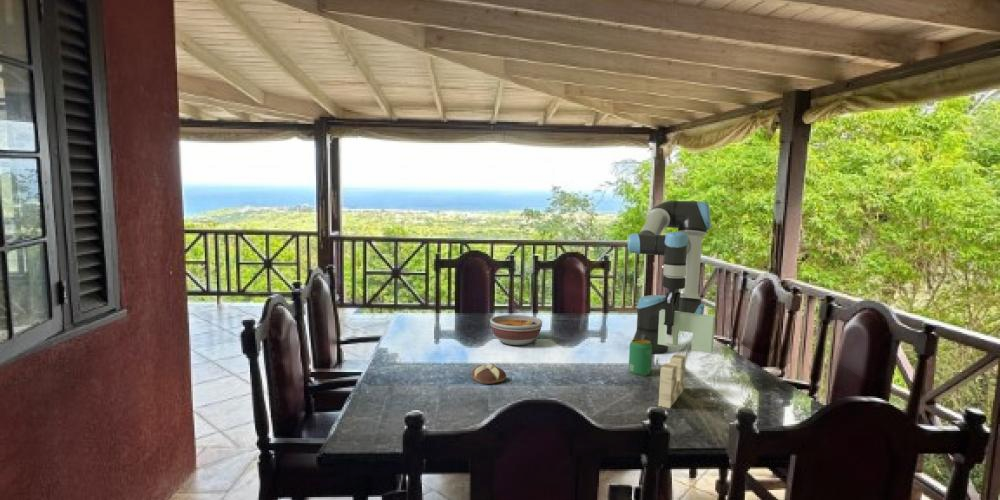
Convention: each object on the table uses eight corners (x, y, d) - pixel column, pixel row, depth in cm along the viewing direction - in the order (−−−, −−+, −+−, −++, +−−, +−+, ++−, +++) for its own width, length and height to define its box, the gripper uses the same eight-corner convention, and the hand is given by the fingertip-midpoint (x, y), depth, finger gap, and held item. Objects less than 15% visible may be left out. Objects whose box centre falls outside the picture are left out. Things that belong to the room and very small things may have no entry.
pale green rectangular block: (657, 344, 194) (659, 311, 193) (660, 341, 197) (661, 309, 196) (711, 352, 185) (713, 318, 184) (712, 350, 188) (715, 316, 187)
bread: (468, 376, 194) (468, 363, 193) (497, 373, 198) (498, 360, 198) (479, 387, 183) (479, 372, 183) (510, 383, 188) (510, 369, 187)
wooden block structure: (673, 387, 188) (675, 353, 187) (683, 389, 186) (685, 355, 185) (658, 405, 171) (660, 368, 169) (669, 408, 169) (672, 370, 168)
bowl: (550, 341, 245) (551, 319, 244) (525, 352, 225) (525, 328, 224) (507, 333, 257) (507, 312, 256) (479, 343, 237) (479, 320, 236)
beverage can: (635, 368, 209) (637, 337, 207) (654, 373, 203) (656, 341, 202) (624, 372, 203) (625, 340, 202) (643, 377, 197) (645, 345, 196)
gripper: (669, 272, 200) (665, 334, 203) (657, 278, 186) (653, 345, 188) (690, 274, 196) (686, 338, 199) (680, 280, 182) (676, 349, 185)
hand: (670, 341), depth 194 cm, fingers closed on pale green rectangular block, 3 cm apart
